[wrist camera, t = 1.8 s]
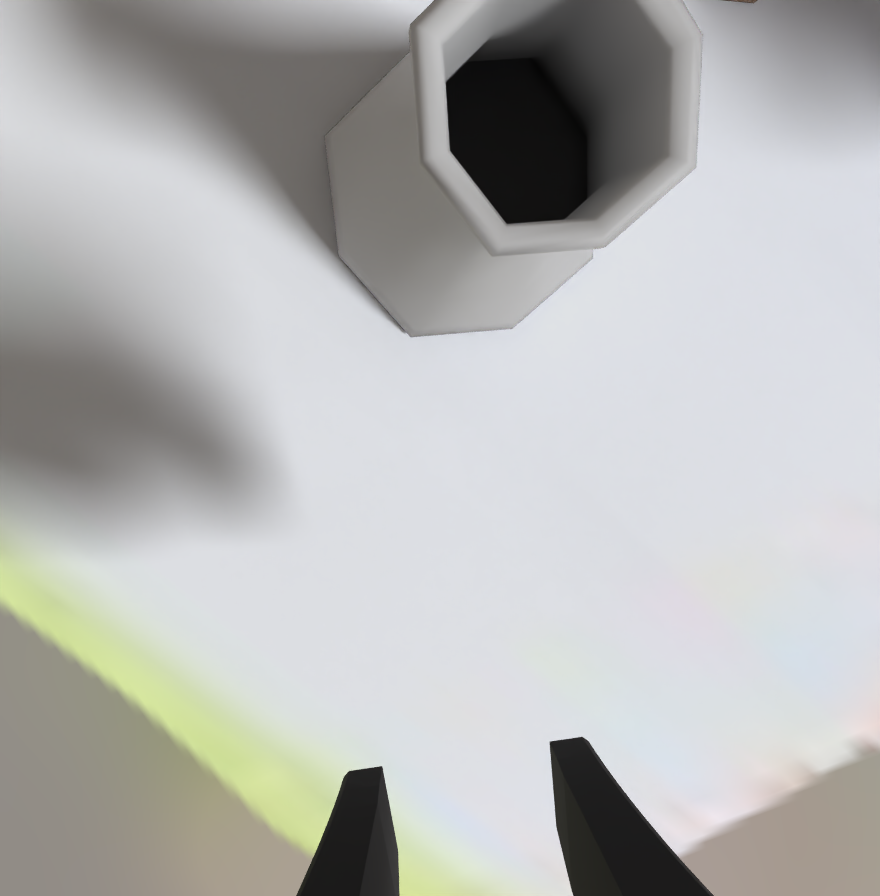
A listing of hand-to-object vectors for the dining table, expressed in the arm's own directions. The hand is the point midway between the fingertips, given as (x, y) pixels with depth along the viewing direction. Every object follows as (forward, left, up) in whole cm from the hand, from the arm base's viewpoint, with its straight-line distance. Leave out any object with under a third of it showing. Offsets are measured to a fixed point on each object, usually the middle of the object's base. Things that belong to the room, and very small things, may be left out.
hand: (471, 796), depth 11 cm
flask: (0, -11, -9) cm, 14 cm away
